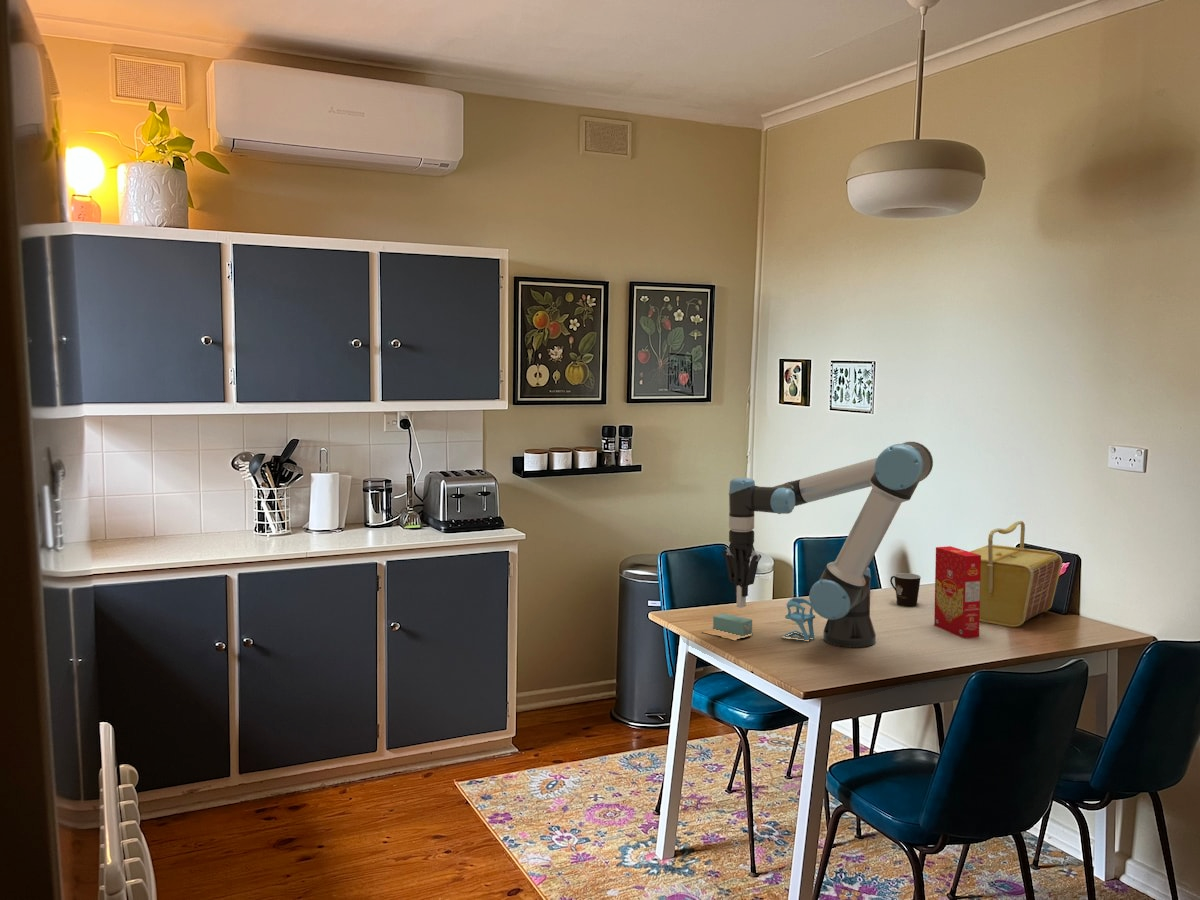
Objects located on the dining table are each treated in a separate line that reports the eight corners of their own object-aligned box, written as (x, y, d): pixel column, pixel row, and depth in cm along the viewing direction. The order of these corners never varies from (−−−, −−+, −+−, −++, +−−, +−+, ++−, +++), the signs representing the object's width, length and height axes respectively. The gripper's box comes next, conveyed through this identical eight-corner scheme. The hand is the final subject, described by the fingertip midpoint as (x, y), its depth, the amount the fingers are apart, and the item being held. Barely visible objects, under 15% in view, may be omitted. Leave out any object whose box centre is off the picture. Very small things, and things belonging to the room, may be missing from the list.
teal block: (752, 619, 278) (723, 613, 286) (742, 623, 274) (713, 616, 282) (752, 635, 278) (723, 628, 286) (742, 639, 275) (713, 632, 283)
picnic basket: (982, 600, 318) (985, 515, 316) (1062, 613, 301) (1065, 523, 298) (947, 617, 298) (949, 526, 295) (1030, 632, 280) (1032, 535, 277)
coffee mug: (923, 607, 310) (924, 578, 309) (898, 607, 310) (898, 578, 309) (912, 599, 322) (912, 571, 321) (887, 599, 322) (888, 571, 321)
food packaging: (934, 625, 289) (935, 547, 286) (948, 624, 290) (950, 546, 288) (963, 638, 274) (965, 556, 272) (979, 637, 276) (981, 555, 274)
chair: (805, 644, 271) (805, 604, 270) (781, 638, 276) (781, 599, 275) (818, 638, 276) (819, 599, 275) (794, 633, 282) (795, 594, 281)
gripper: (767, 530, 273) (766, 608, 275) (731, 525, 283) (731, 600, 285) (752, 533, 268) (751, 612, 270) (716, 528, 277) (716, 605, 279)
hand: (741, 606), depth 277 cm, fingers closed
